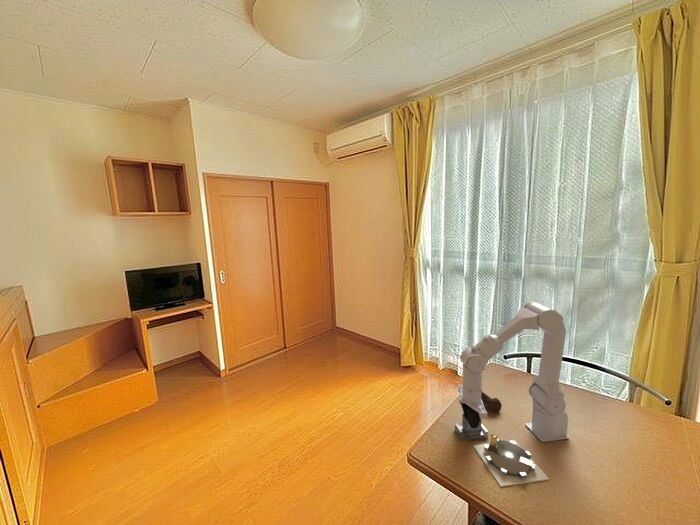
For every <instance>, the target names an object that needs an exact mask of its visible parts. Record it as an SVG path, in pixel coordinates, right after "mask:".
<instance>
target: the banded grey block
mask: <svg viewBox="0 0 700 525" xmlns="http://www.w3.org/2000/svg"><path fill="white" fill-rule="evenodd" d="M461 415H462V417H461V418H462V420H461V422H462V424H461V426H462V428H463V429H464V431H465V432H466V434H472V433H479V432H481V423H482V419H480V422H479V425H478V427H477V428H471V427H470V421H469V415H468V414H464V413H462V414H461Z"/></svg>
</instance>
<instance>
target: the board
mask: <svg viewBox="0 0 700 525" xmlns="http://www.w3.org/2000/svg"><path fill="white" fill-rule="evenodd" d="M507 441H508V442H510V441H513V442H516V445H518V446H519V447H521V445H520V444H519V443H518V442H517V440H515V439H511V440H507ZM490 443H491V442H490ZM490 443H482V444H475V445H473V449H474V450H475V451H476V453H477V454H478V456H479V457H480V458H481V460H482V462H483V463H484V464H485V466H486V467H487V469H488V470H489V472H490V474H491V475H492V476H493V478H494V479H495V481H496V482H497V484H498V485H499V486H500V488H504V487H510V486H517V485H522V484H531V483H537V482H538V483H539V482H545V481H549V480H550V478H549V476H547V474H546V473H545V472H544V471H543V470H542V469H541V467H539V465H538V464H536V462H535V461H534V460H533V458H532V457H531V458H530V460H531V461H532V464H534V465H535V472H532V471H530V472H529V473H528V474H527V477H526V479H521V478H520V477H518V476H511V475H508V474H507V475H506V476H505V475H503V474H501V471H500V470H498V469H497V468H496V467H495V466H494V465H493V464H492V463H491V464H488V462H487V461H486V456H488V452H487V451H485V450H484V446H485V444H487V445H489V444H490Z"/></svg>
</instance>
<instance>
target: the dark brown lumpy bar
mask: <svg viewBox="0 0 700 525" xmlns="http://www.w3.org/2000/svg"><path fill="white" fill-rule="evenodd" d="M481 399H482V402H483V405H485V406H486V408H487V410H488V412H489V413H490V414H492V415H493V414H494V415H495V414H498V413H499V412H500V411H501V410H502V405H503V404H502V403H501V401H500V400H499V398H497V397H494V398H491V397H490V396H489V395H487V394H486V393H485V392H483V390H481Z"/></svg>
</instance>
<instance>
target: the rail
mask: <svg viewBox="0 0 700 525" xmlns="http://www.w3.org/2000/svg"><path fill="white" fill-rule="evenodd" d="M454 432H455V433H456V435H457V436H458V438H459V439H460V441H461V442H470V441H475V440H476V441H478V440H484V439H488V438H489V430H487V428H486V427H485V426H484V425H483V423H482V422H481V432H479V433H472V434H466V432H465V431H464V429H463V428H462V425H459V424H458V423H454Z"/></svg>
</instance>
